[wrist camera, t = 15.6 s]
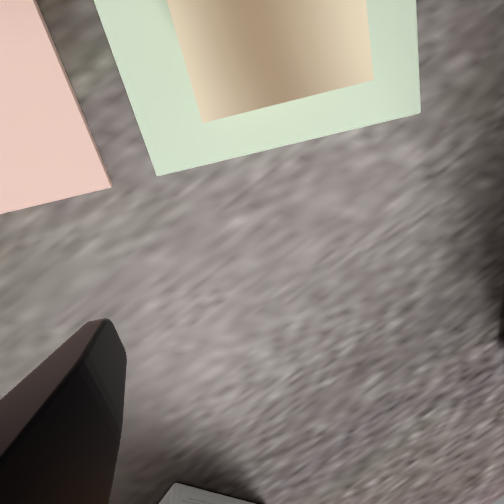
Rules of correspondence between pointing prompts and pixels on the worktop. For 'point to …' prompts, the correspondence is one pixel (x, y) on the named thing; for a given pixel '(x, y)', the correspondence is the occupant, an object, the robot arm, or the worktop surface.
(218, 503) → the supplement box
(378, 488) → the worktop surface
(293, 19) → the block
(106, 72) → the worktop surface
